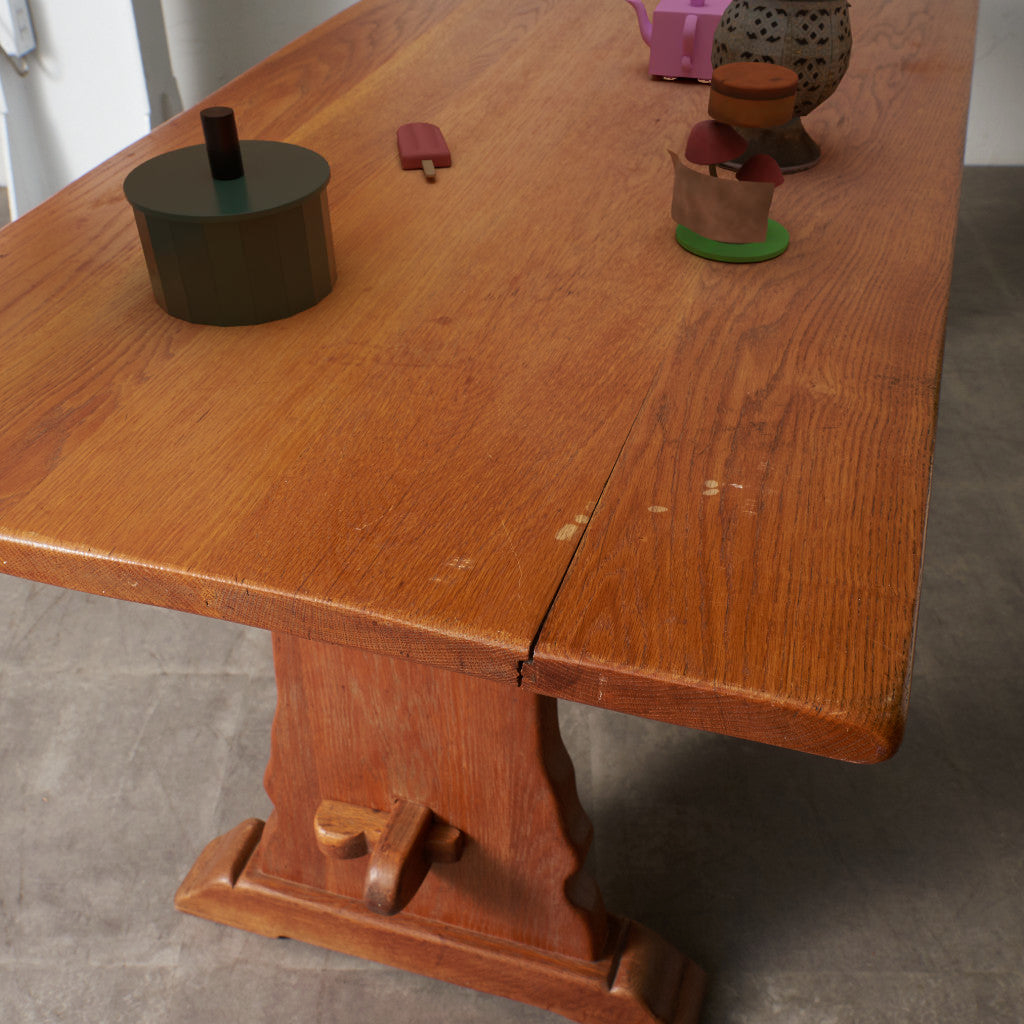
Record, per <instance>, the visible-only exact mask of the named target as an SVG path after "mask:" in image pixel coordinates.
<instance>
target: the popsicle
mask: <svg viewBox="0 0 1024 1024" xmlns="http://www.w3.org/2000/svg"><path fill="white" fill-rule="evenodd" d="M396 141H397V147H398V154H399V159H400V162H401V163H400V164H401V167H402V169H403V170H413V169H415V170H417V169H423V171H424V176H425V177H426V178H435V177H436V176H437V171H436V168H442V167H443V168H444V167H451V165H452V153H451V151H450V149H449V147H448V144H447V142H446V140H445V137H444V135H443V133H442V131H441V128H440V127H439V126H437V125H436V124H434V123H429V122H422V121H421V122H417V121H416V122H410V123H405V124H403V125H400V126H399V128H398V129H396Z"/></svg>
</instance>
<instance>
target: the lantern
mask: <svg viewBox="0 0 1024 1024" xmlns="http://www.w3.org/2000/svg"><path fill="white" fill-rule="evenodd" d="M849 8H852V4H850V3H849V2H848V0H732V2H731V3H730V4H729V5H728V7H727V8H726V9H725V11H724V13H723V15H722V17H721V20H720V22H719V24H718V26H717V28H716V31H715V33H714V36H713V45H712V53H711V63H712V67H713V71H714V70H715V69H716V68H718V67H720V66H722V65H726V64H730V63H738V62H759V63H768V64H774V65H779V66H782V67H785V68H788V69H790V70H792V71H794V72H795V73H796V74H797V75H798V86H797V92H796V98H795V104H794V110H793V116H792V119H791V120H790V121H789V122H787V123H785V124H783V125H779V126H774V127H766V128H744V127H738V126H733V129H734V130H735V131H736V132H737V133H738V134H739V135H741V136H742V137H743V138H744V139H745V140H746V141H747V142H748V147H747V149H746V151H745V152H744V153H743V154H742V155H741V156H740V157H738V158H736V159H734V160H732V161H729V162H725V163H721V164H716V167H719V168H722V169H726V170H729V171H733V172H735V173H736V172H737V171H738V170H739V169H740V167H741V166H742V165H743V164H744V163H745V162H746V161H747V160H748V159H749V158H750V157H752V156H754V155H757V154H766V155H769V156H771V157H772V158H773V159H774V160H775V161H776V163H777V164H778V166H779V167H780V170H781V172H782V174H783V175H790V174H796V173H799V172H804V171H808V170H810V169H811V168H814V167H815V166H817V165H818V163H819V161H820V159H821V156H822V150H821V147H820V145H819V144H818V143H817V142H816V141H815V140H814V139H812V137H811V136H810V134H809V133H808V132H807V130H806V129H805V126H804V125H803V122H802V119H801V117H807V116H808V115H810V114H811V113H812V112H813V111H814V110H816V109H817V108H818V107H819V106H821V105H822V104H823V103H824V102H825V101H826V100H828V99H829V98H830V97H831V96H833V94H835V92H836V91H837V89H838V87H839V85H840V84H841V82H842V80H843V78H844V76H845V75H846V73H847V72H848V70H849V68H850V61H851V54H852V49H853V43H854V42H853V34H852V33H853V32H852V25H851V18H850V10H849Z"/></svg>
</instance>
